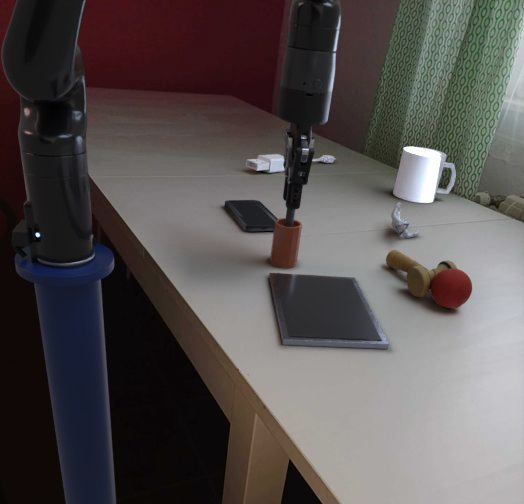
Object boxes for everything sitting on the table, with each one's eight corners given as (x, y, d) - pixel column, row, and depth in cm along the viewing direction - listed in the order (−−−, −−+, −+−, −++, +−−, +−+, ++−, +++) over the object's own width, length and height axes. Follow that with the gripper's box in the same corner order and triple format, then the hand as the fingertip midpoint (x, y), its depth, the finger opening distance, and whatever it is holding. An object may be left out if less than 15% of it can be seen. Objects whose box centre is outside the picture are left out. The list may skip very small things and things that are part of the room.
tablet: (282, 344, 69) (283, 338, 69) (268, 277, 86) (269, 271, 85) (387, 349, 71) (389, 343, 70) (354, 281, 87) (355, 276, 87)
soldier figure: (415, 230, 115) (430, 232, 103) (396, 244, 116) (408, 248, 104) (394, 200, 113) (407, 199, 102) (375, 214, 114) (385, 215, 103)
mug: (444, 195, 137) (457, 152, 131) (450, 207, 129) (464, 161, 123) (391, 187, 138) (401, 144, 132) (394, 199, 130) (405, 153, 124)
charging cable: (339, 166, 155) (341, 154, 153) (257, 174, 134) (259, 160, 133) (326, 162, 158) (328, 150, 156) (244, 169, 137) (245, 155, 135)
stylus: (280, 261, 90) (291, 183, 83) (279, 257, 91) (290, 181, 84) (288, 261, 90) (300, 184, 83) (287, 258, 91) (298, 181, 84)
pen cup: (271, 267, 89) (276, 226, 85) (269, 256, 93) (273, 217, 89) (297, 268, 89) (303, 228, 86) (294, 258, 93) (299, 219, 89)
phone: (258, 199, 114) (284, 225, 103) (258, 205, 115) (283, 230, 103) (223, 200, 112) (245, 226, 100) (222, 205, 112) (245, 232, 101)
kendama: (368, 275, 93) (438, 312, 78) (378, 239, 91) (452, 270, 76) (402, 279, 97) (475, 314, 82) (413, 244, 94) (490, 275, 80)
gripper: (275, 76, 82) (263, 189, 91) (286, 89, 70) (271, 217, 79) (323, 81, 83) (307, 192, 92) (342, 95, 71) (321, 221, 80)
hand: (290, 203), depth 86 cm, fingers open, 3 cm apart
